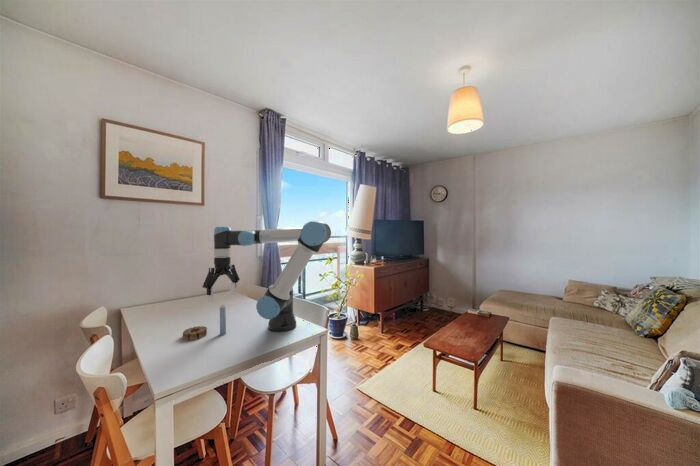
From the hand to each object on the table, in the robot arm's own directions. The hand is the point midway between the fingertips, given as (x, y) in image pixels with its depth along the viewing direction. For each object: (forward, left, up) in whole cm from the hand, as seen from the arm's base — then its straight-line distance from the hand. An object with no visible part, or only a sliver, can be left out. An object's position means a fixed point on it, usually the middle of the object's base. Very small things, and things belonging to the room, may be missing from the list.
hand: (222, 297), depth 127 cm
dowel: (0, 0, -19) cm, 19 cm away
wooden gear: (+11, +7, -19) cm, 23 cm away
